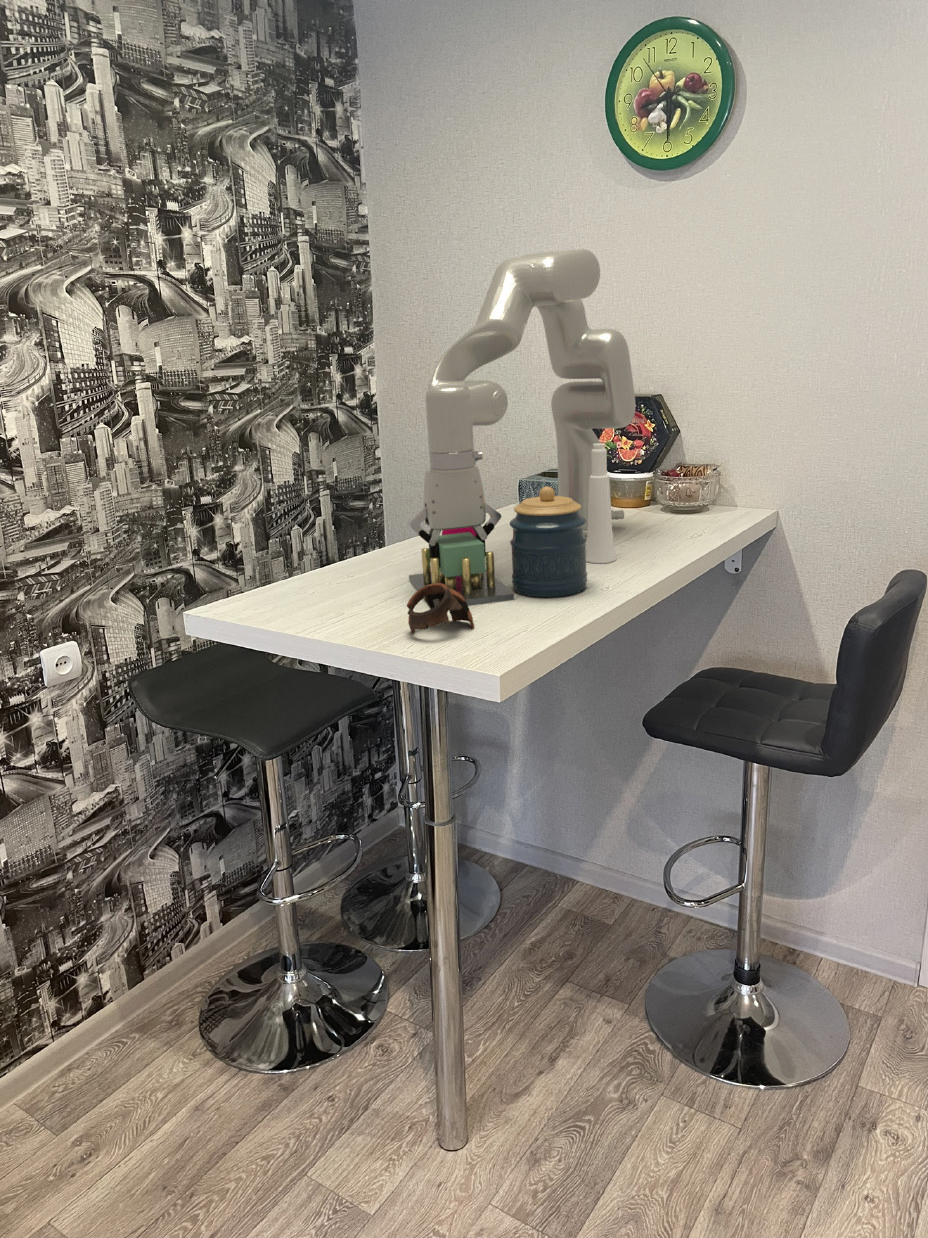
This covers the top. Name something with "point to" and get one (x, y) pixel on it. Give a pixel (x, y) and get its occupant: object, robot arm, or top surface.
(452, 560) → the green boxy piece
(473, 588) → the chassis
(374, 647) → the top surface
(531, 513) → the canister
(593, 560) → the cosmetic bottle
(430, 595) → the brown curved shards
